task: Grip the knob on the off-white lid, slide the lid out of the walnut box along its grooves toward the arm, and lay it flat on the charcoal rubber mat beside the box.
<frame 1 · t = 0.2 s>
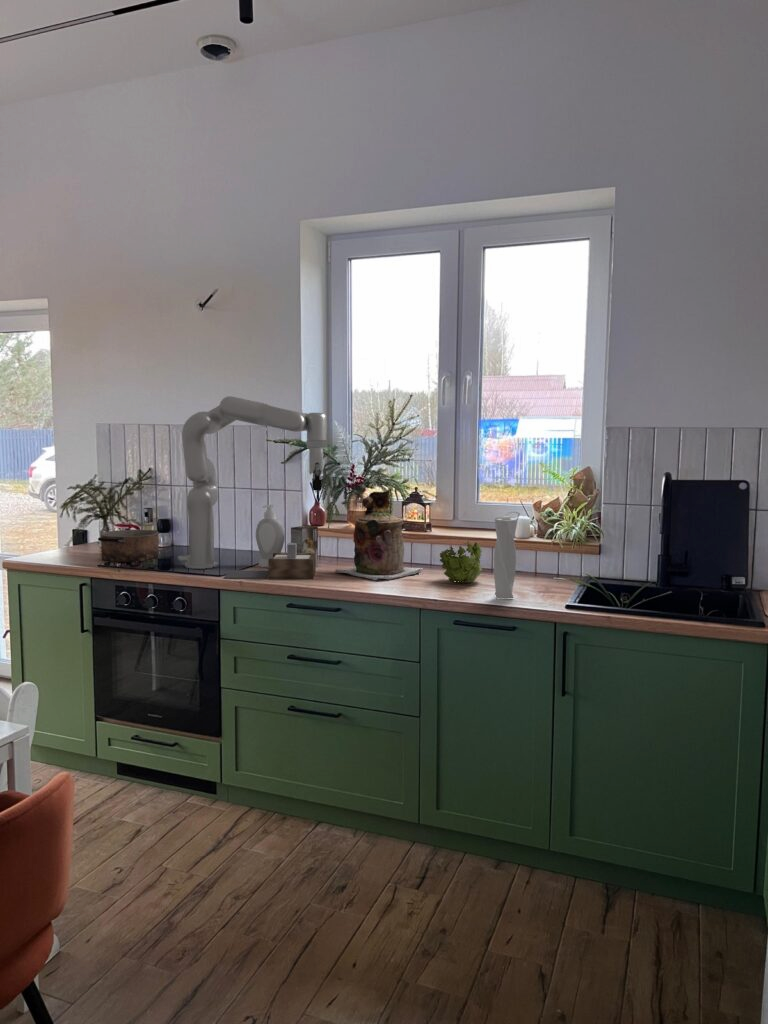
hand: (316, 489, 294), 31 cm above the counter, tool pointing down, fingers open, 9 cm apart
lid: (291, 560, 280), point 5 cm above the counter, touching box
box: (292, 575, 281), on the counter
cooking pot: (130, 559, 314), on the counter
coffee box: (304, 567, 298), on the counter
soap bottle: (268, 567, 297), on the counter
green rounded bumpy piece: (460, 582, 273), on the counter
rustic painted jar: (378, 574, 287), on the counter
white faceted vase: (504, 598, 247), on the counter
mat: (247, 574, 280), on the counter
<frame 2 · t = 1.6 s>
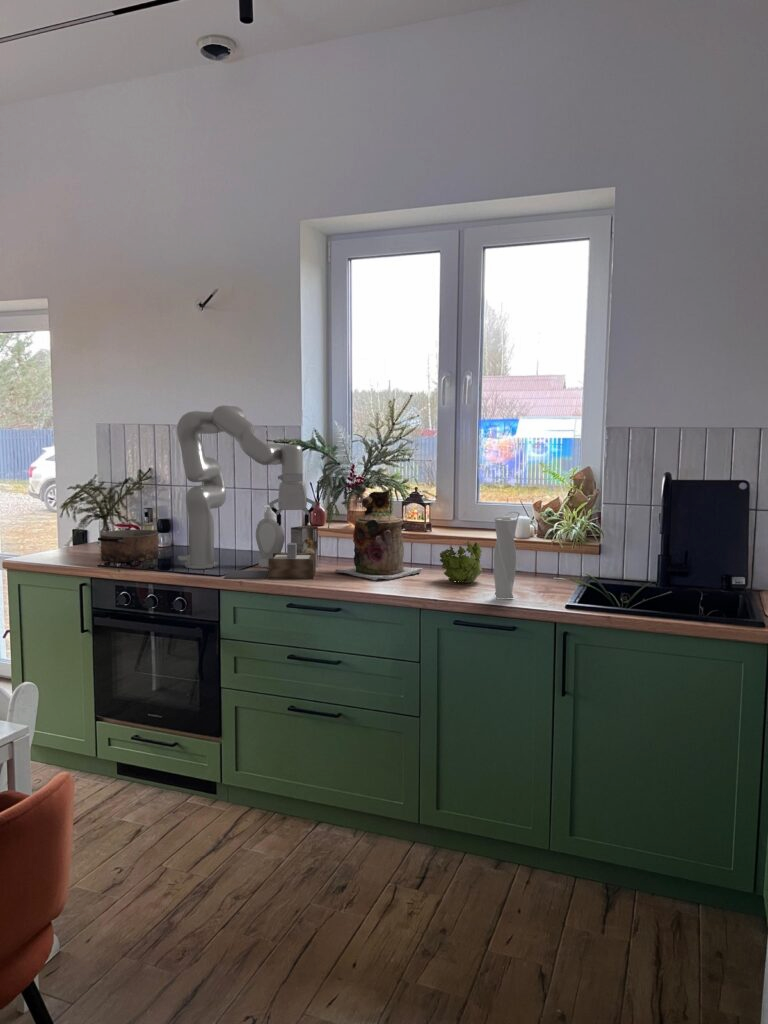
hand: (293, 525, 279), 19 cm above the counter, tool pointing down, fingers open, 9 cm apart
nothing on the counter moved.
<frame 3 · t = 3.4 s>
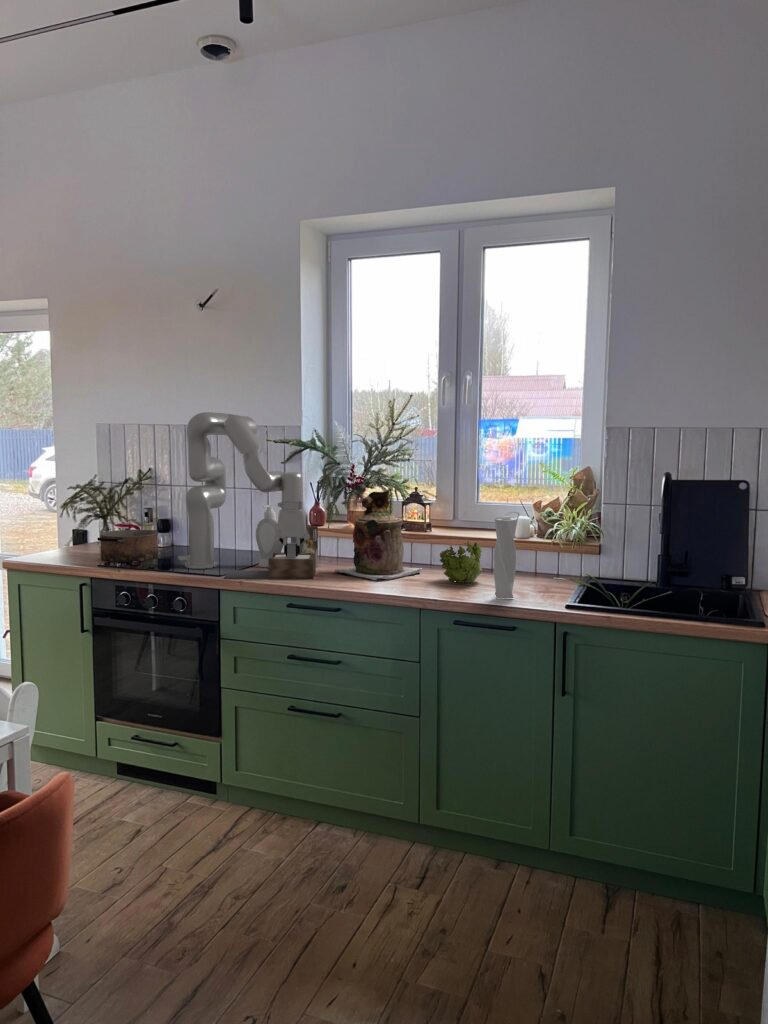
hand: (291, 555, 280), 7 cm above the counter, tool pointing down, fingers closed on lid, 3 cm apart
lid: (291, 560, 280), point 6 cm above the counter, touching box, gripper
everything else where it was.
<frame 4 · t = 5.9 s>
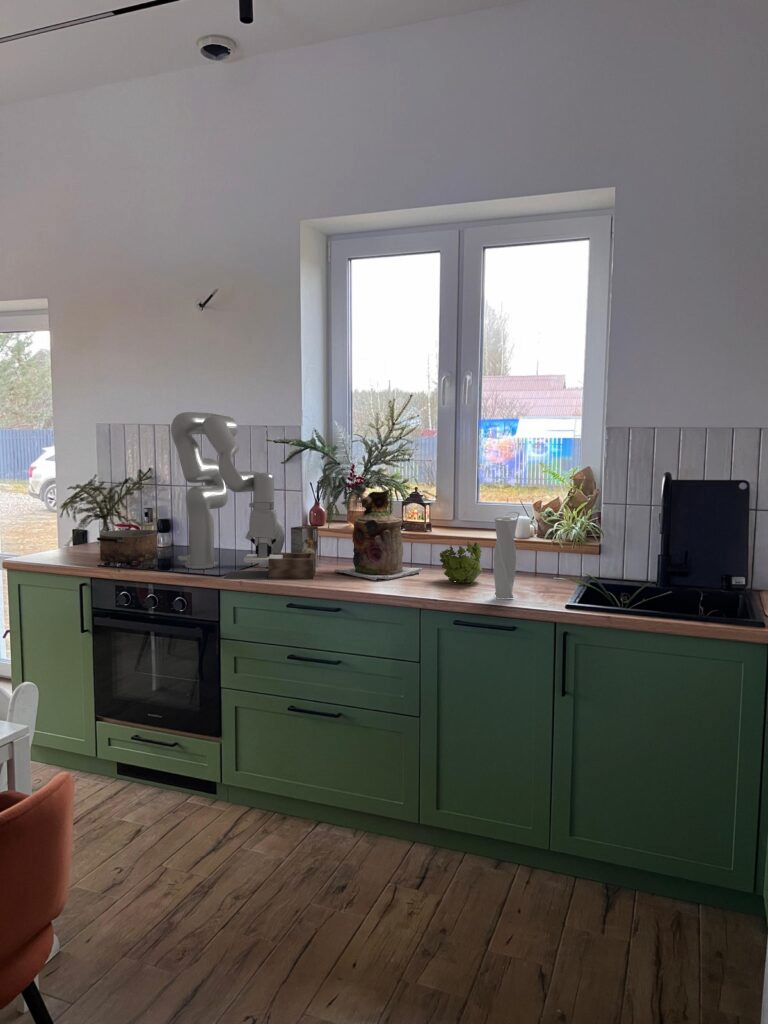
hand: (263, 555, 280), 7 cm above the counter, tool pointing down, fingers closed on lid, 3 cm apart
lid: (263, 560, 280), point 6 cm above the counter, touching gripper
everything else where it was.
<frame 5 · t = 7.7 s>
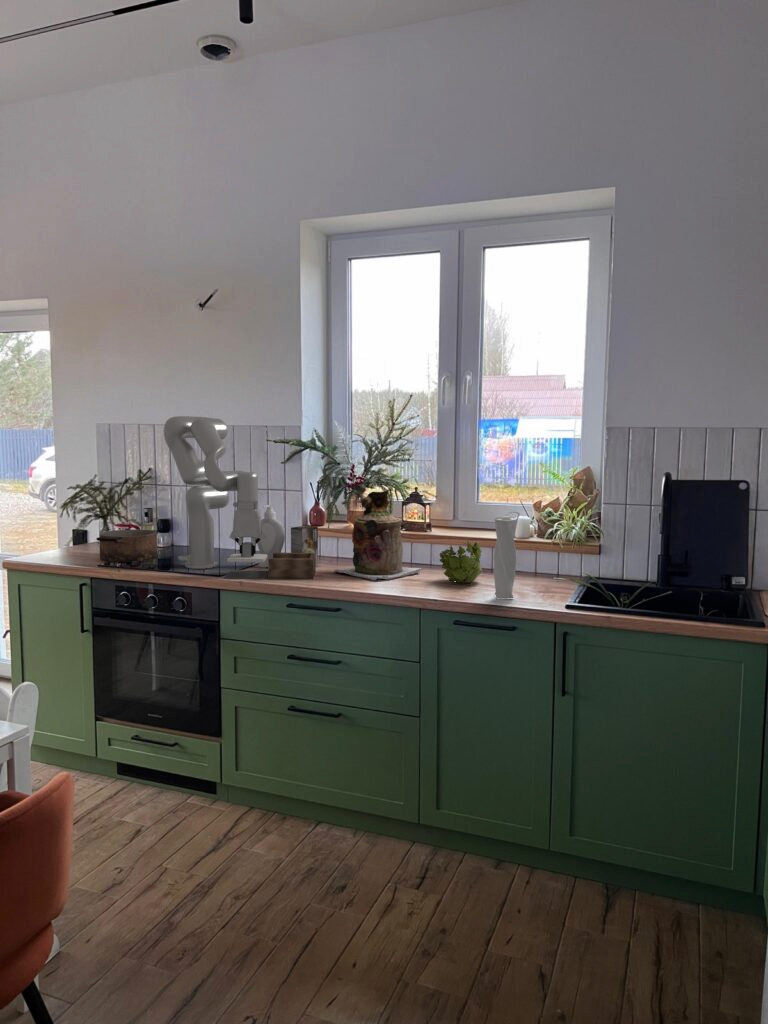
hand: (247, 555, 280), 7 cm above the counter, tool pointing down, fingers closed on lid, 3 cm apart
lid: (247, 559, 280), point 6 cm above the counter, touching gripper
everything else where it was.
when the fingers open (4 cm above the counter, at t = 8.9 s): lid drops 2 cm, resting on mat.
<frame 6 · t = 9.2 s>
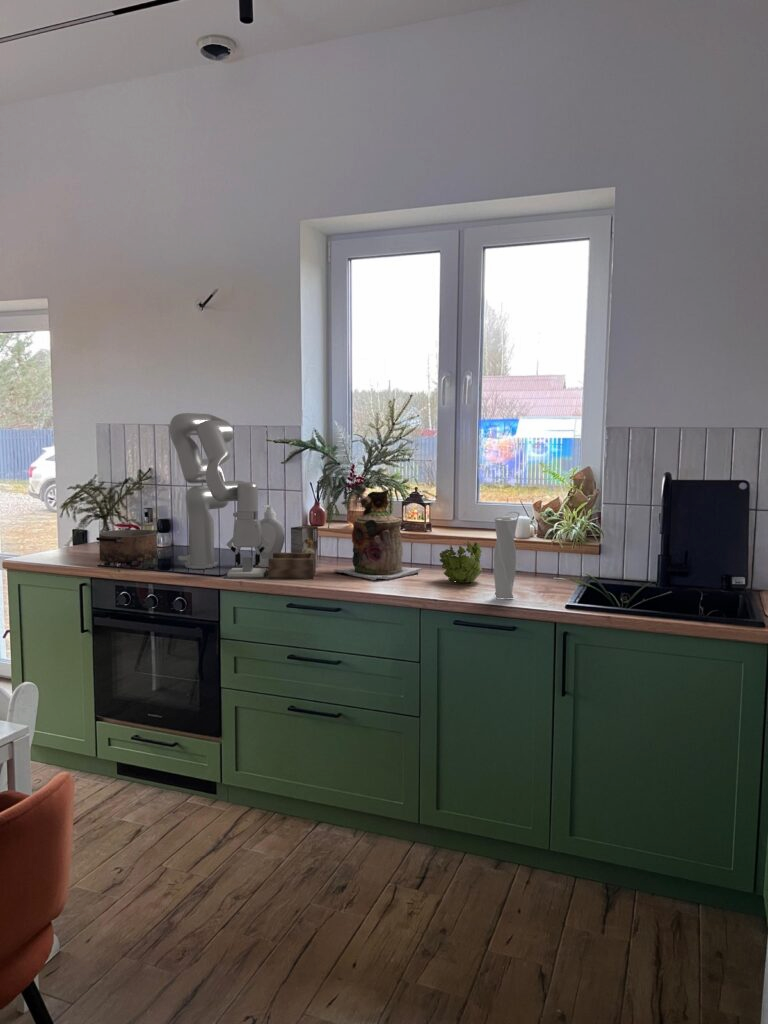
hand: (247, 564, 280), 4 cm above the counter, tool pointing down, fingers open, 6 cm apart
lid: (247, 573, 280), resting on mat
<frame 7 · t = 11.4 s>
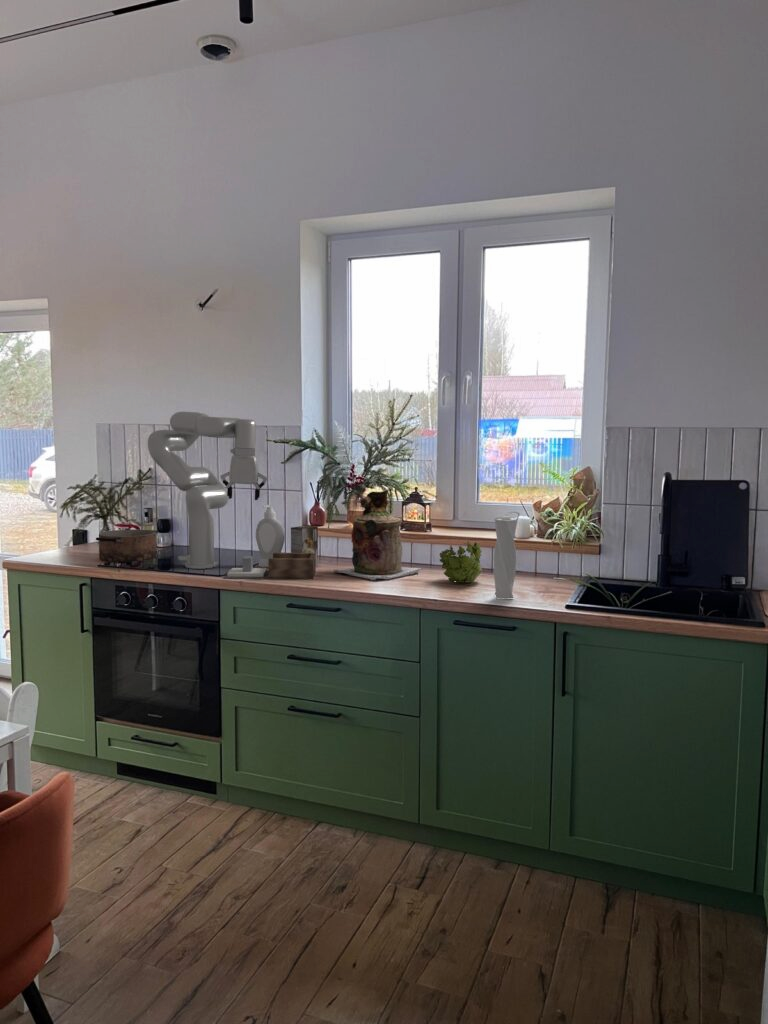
hand: (243, 499, 282), 28 cm above the counter, tool pointing down, fingers open, 9 cm apart
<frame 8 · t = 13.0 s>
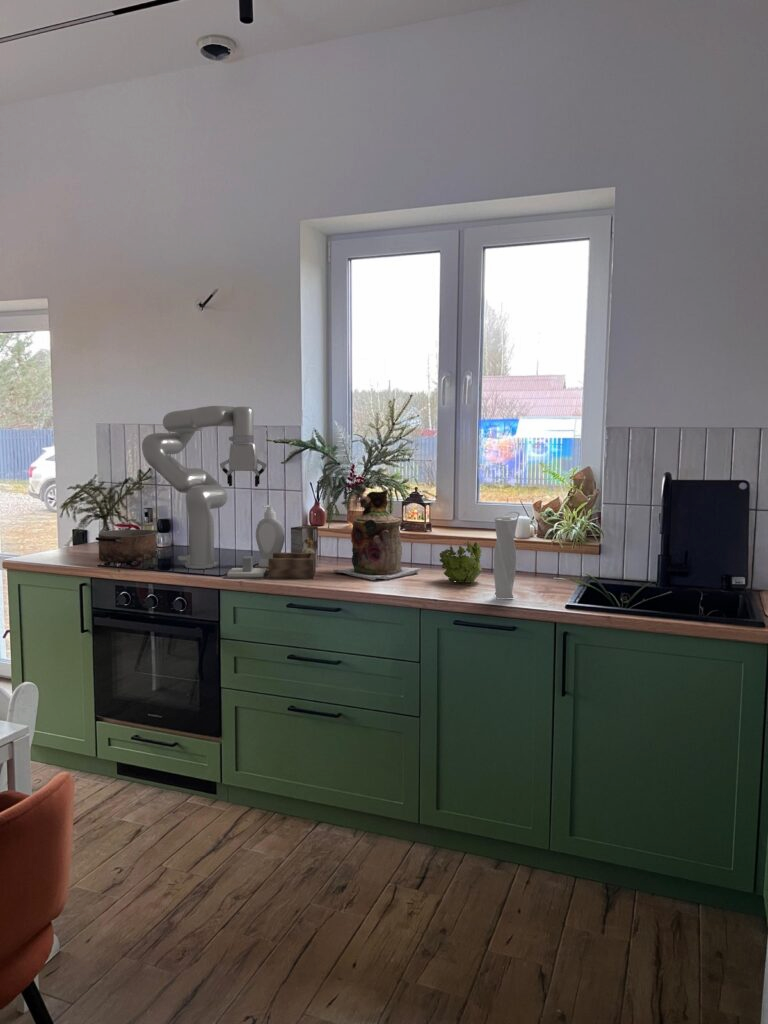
hand: (243, 486, 284), 32 cm above the counter, tool pointing down, fingers open, 9 cm apart
at the end: lid 0.1 cm off-centre on the mat, point 0.4 cm above the mat's base; lid tilted 0°; the gripper is holding nothing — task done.
